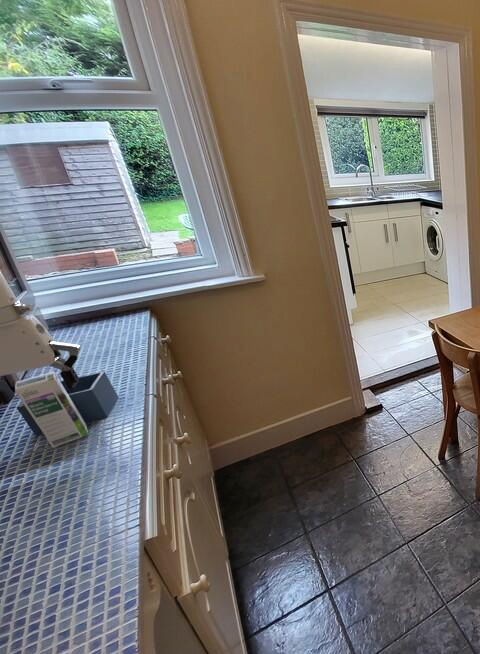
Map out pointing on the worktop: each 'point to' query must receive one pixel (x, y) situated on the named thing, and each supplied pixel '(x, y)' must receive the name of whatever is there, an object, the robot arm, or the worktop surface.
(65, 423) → the syrup box
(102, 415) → the tub
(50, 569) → the worktop surface
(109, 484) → the worktop surface
